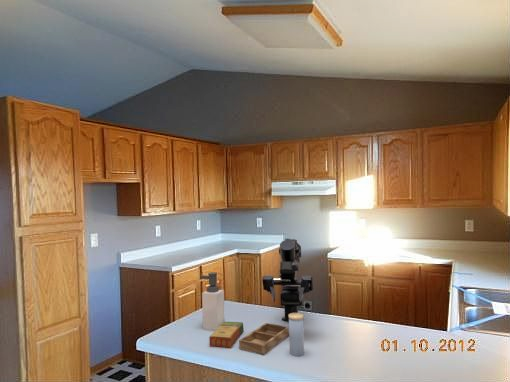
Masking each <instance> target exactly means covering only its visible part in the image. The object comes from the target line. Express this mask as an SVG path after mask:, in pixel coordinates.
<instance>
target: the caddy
mask: <svg viewBox="0 0 510 382" xmlns="http://www.w3.org/2000/svg"><path fill="white" fill-rule="evenodd" d="M288 337H289V326H285V325H280V324H279V325H278V324H274V323H269V322H265V323H264V324H262V325H260V326H259V327H257V328H256V329H254V330H253V331H251V332H250V333H248V334H246V335H245V336H243V337H241V338H240V339H238V349H239V350H241V351H242V350H243V351H246V352H250V353H255V354H258V355H262V356H265V355H266V354H268V353H269V352H271V350H272V349H274V348H275V347H277V345H279V344H280V343H281V342H283V341H284V340H286V339H287V338H288Z"/></svg>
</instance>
